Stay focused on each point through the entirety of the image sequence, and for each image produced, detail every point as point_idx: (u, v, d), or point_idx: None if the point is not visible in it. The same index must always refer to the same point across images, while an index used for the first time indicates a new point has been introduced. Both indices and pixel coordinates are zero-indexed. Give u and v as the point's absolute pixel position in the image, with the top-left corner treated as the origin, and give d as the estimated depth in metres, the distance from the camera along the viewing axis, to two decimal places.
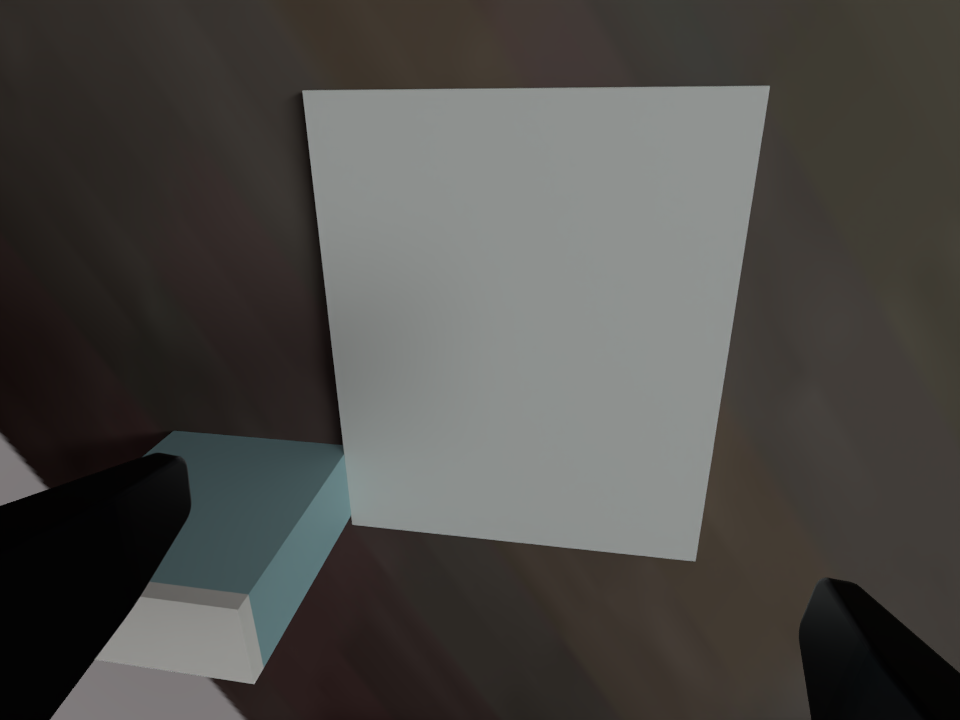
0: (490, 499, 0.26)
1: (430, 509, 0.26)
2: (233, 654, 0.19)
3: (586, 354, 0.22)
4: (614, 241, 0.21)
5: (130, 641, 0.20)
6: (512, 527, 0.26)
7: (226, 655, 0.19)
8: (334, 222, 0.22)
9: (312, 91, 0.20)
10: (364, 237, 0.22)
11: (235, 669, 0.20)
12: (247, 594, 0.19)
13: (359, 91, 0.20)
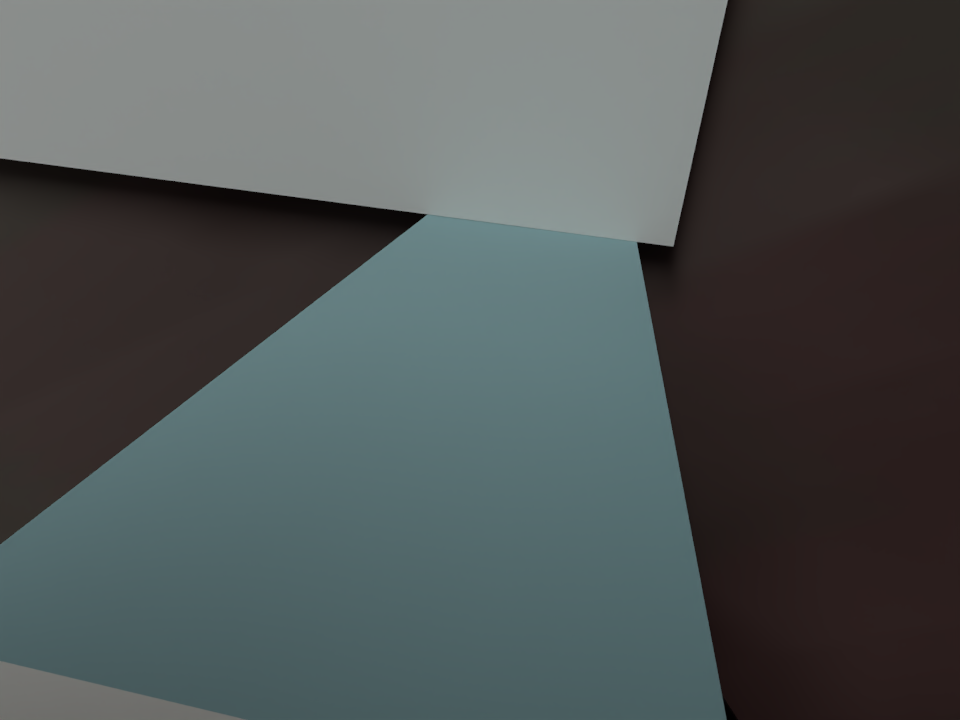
0: None
1: None
2: None
3: None
4: None
5: None
6: None
7: None
8: None
9: None
10: None
11: None
12: None
13: None
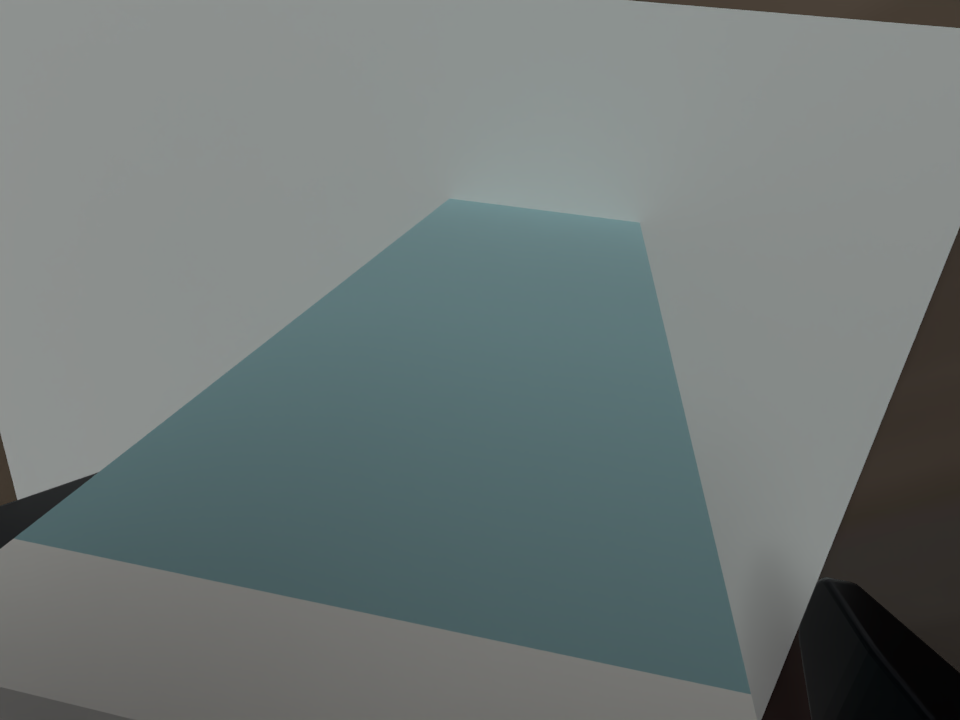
0: (719, 518, 0.12)
1: None
2: None
3: None
4: (164, 221, 0.11)
5: None
6: (806, 490, 0.11)
7: None
8: None
9: None
10: None
11: None
12: (18, 543, 0.03)
13: None
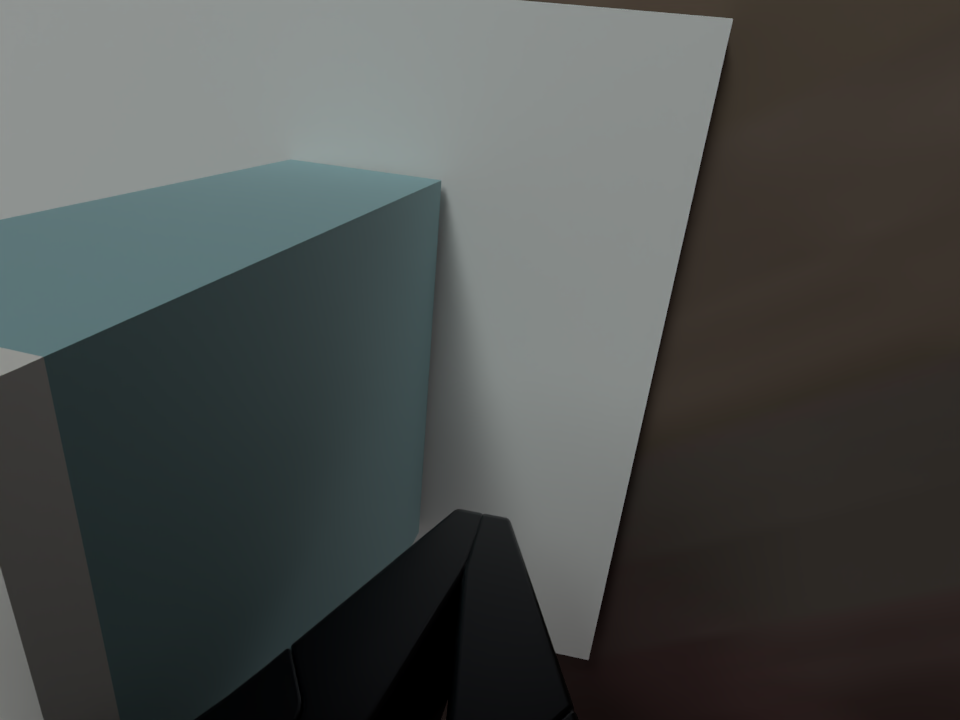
0: (539, 439, 0.14)
1: (559, 539, 0.15)
2: None
3: None
4: (61, 181, 0.13)
5: None
6: (606, 412, 0.13)
7: None
8: None
9: None
10: None
11: None
12: None
13: None
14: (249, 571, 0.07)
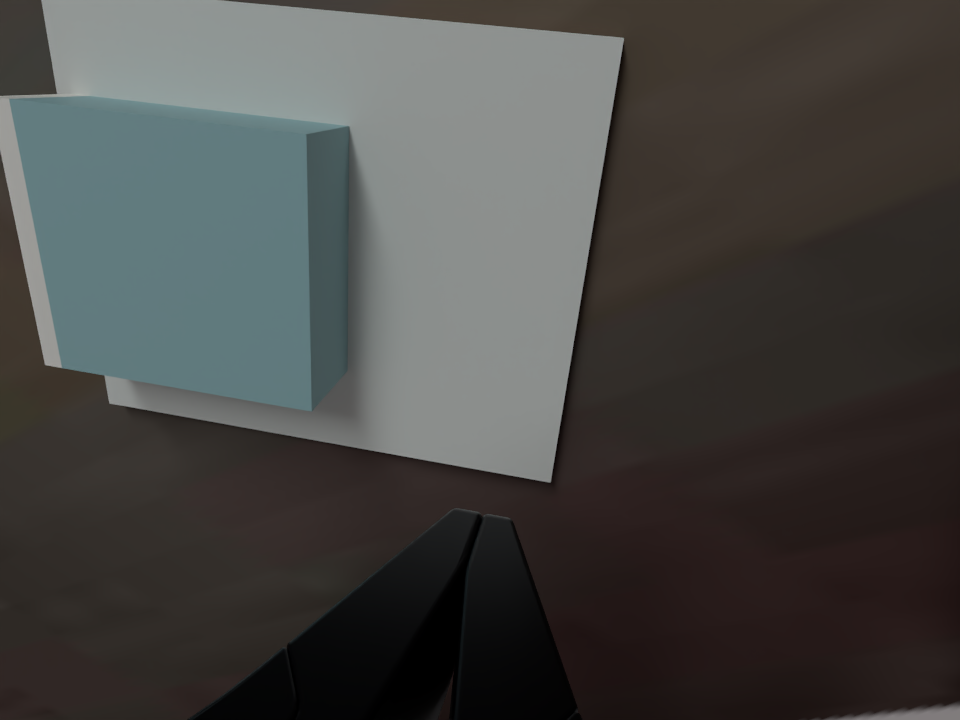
0: (513, 315, 0.20)
1: (528, 389, 0.21)
2: None
3: None
4: None
5: None
6: (557, 294, 0.20)
7: None
8: (208, 407, 0.24)
9: (109, 395, 0.25)
10: None
11: None
12: (89, 96, 0.20)
13: None
14: (95, 238, 0.18)
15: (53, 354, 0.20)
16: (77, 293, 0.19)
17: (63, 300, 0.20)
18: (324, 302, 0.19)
